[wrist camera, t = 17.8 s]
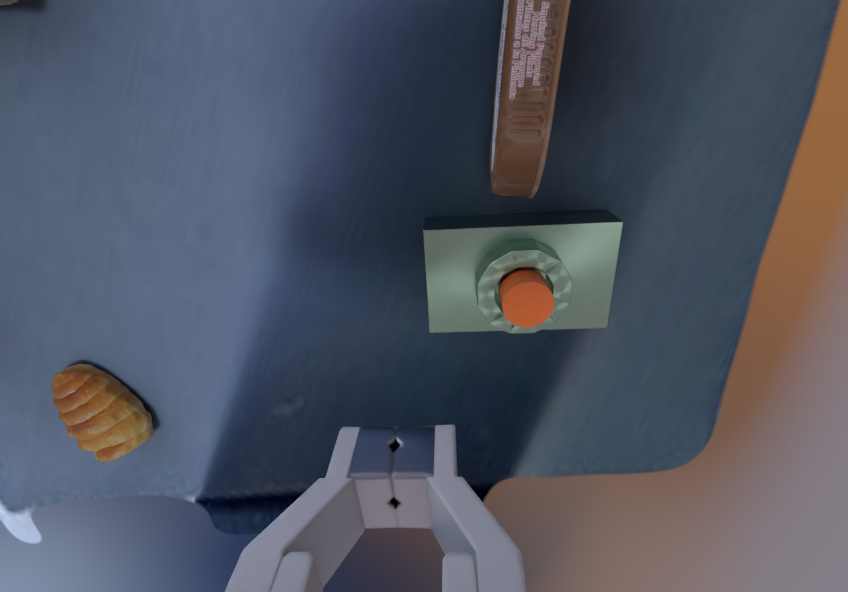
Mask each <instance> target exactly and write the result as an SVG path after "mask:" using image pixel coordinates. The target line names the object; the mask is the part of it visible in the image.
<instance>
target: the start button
mask: <svg viewBox="0 0 848 592" xmlns="http://www.w3.org/2000/svg"><path fill="white" fill-rule="evenodd" d="M499 298H500V302H501V306H502V309H503V313H504V315H505V317H506V318H507V320H508V321H510V322H511V323H512V324H514V325H516V326H520V327H534V326H537V325H539V324H541V323H543V322H544V321H546V320H547V319H548V318H549V316H550V315H551V313H552V311H553V309H554V304H555V301H554V296H553V294H552V292H551V290H550V288H549V286H548V284H547V282H546V280H545V279H544V277H543V276H542V275H540V274H539V273H537V272H535V271H533V270H527V269H523V270H518V271H515V272H513V273H511V274H509V275H508V276H507V277H506V278H505V279H504V280H503V281H502V283H501V285H500V288H499Z"/></svg>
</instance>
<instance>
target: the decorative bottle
mask: <svg viewBox="0 0 848 592" xmlns="http://www.w3.org/2000/svg"><path fill="white" fill-rule="evenodd" d="M18 1H19V0H0V5H11V4H12V3H16V2H18Z"/></svg>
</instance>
